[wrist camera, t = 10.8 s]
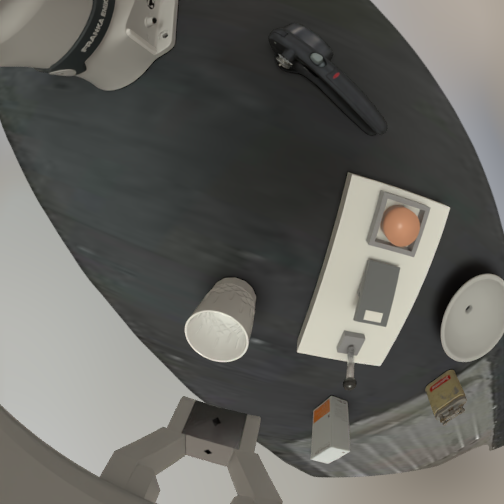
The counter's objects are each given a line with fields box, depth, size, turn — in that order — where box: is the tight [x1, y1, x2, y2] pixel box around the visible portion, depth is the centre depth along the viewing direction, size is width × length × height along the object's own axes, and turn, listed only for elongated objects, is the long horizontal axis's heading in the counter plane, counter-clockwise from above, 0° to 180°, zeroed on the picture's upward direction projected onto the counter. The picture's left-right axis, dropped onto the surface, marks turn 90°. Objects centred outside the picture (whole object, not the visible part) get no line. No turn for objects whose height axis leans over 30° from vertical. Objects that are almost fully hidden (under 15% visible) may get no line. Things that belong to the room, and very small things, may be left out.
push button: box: [380, 205, 420, 247], centre depth 29 cm, size 4×4×2 cm
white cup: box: [185, 277, 256, 362], centre depth 37 cm, size 8×8×10 cm
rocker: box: [353, 260, 400, 327], centre depth 32 cm, size 8×4×1 cm, turn 170°
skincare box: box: [311, 396, 350, 464], centre depth 42 cm, size 6×4×12 cm
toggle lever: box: [343, 347, 356, 390], centre depth 34 cm, size 2×2×7 cm
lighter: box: [425, 370, 467, 425], centre depth 37 cm, size 7×4×10 cm, turn 137°
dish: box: [441, 274, 504, 362], centre depth 33 cm, size 18×14×5 cm
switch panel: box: [297, 172, 450, 366], centre depth 35 cm, size 26×14×5 cm, turn 169°
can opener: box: [269, 23, 387, 136], centre depth 26 cm, size 18×7×6 cm, turn 44°
